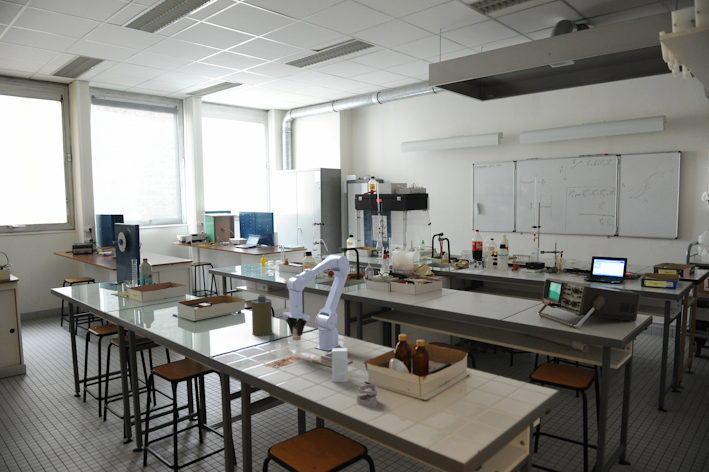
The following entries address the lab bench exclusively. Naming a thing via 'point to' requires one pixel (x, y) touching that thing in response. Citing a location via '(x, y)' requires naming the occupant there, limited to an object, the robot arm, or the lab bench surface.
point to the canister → (261, 316)
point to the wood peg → (295, 333)
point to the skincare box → (339, 365)
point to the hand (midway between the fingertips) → (296, 334)
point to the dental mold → (367, 396)
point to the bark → (286, 361)
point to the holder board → (326, 360)
